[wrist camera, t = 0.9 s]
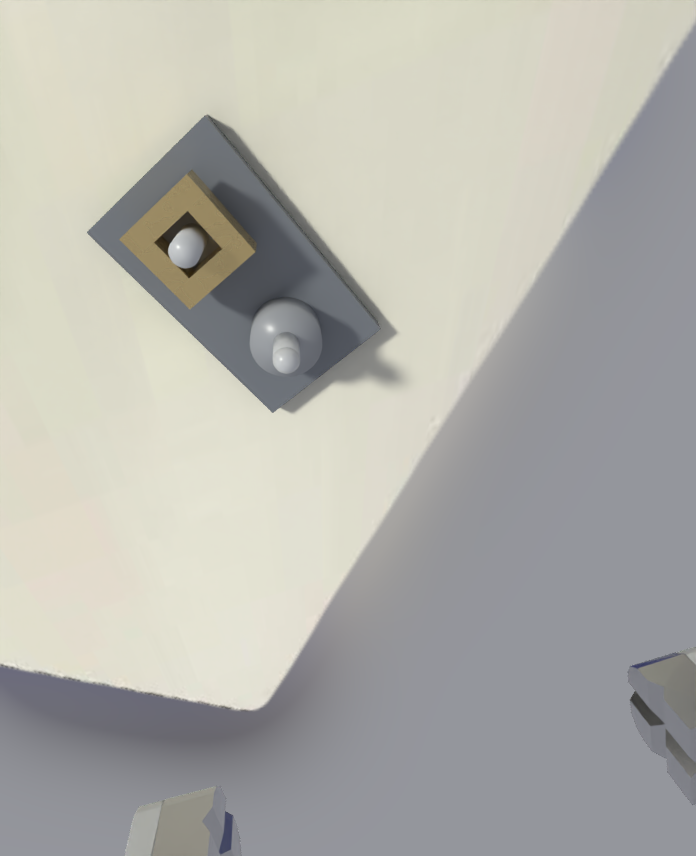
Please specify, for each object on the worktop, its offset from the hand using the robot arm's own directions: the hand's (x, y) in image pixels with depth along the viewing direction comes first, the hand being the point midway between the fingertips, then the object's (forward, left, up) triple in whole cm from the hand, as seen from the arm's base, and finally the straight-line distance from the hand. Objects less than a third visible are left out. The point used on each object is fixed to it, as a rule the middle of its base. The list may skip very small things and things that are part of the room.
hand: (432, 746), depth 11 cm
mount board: (+6, -2, -40) cm, 41 cm away
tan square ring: (+6, -7, -37) cm, 38 cm away
